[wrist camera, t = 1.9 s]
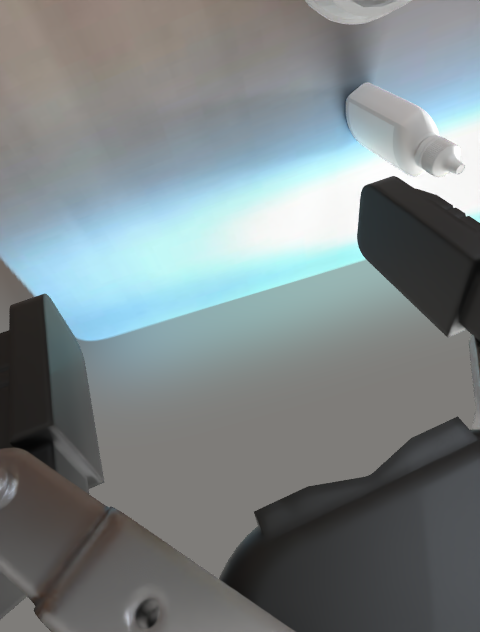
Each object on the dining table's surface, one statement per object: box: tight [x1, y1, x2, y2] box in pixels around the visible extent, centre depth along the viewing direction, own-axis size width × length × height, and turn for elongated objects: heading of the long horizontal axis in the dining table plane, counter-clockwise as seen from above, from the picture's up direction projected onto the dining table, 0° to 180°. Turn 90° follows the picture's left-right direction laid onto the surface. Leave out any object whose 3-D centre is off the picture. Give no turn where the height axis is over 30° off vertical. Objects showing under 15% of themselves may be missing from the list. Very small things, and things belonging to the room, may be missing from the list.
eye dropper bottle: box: [346, 82, 465, 177], centre depth 33 cm, size 4×6×12 cm
